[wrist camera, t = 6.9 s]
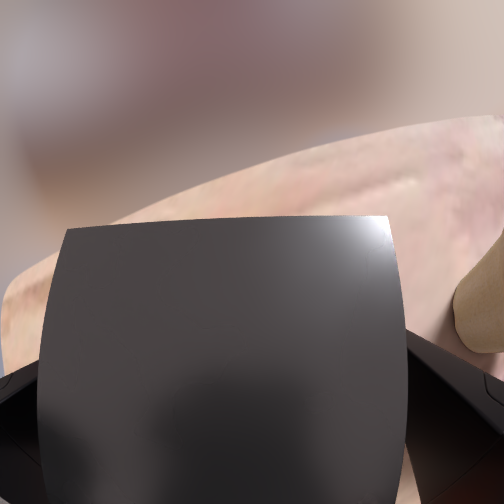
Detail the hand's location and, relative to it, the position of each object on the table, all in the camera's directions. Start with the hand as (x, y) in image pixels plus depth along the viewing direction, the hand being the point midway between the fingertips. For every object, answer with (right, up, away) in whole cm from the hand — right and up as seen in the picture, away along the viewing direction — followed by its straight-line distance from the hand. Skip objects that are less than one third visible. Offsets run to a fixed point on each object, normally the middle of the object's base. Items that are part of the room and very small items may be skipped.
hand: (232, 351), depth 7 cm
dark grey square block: (+1, -5, +7) cm, 8 cm away
